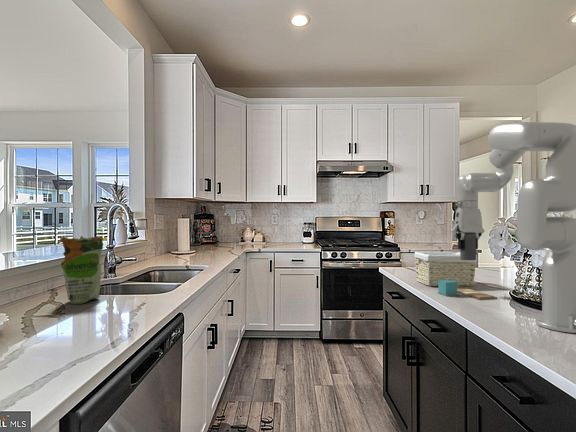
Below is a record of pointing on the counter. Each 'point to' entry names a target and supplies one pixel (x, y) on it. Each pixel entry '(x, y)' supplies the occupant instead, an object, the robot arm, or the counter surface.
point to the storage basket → (444, 268)
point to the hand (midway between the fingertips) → (467, 248)
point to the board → (474, 294)
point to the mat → (450, 295)
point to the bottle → (469, 247)
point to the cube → (447, 287)
